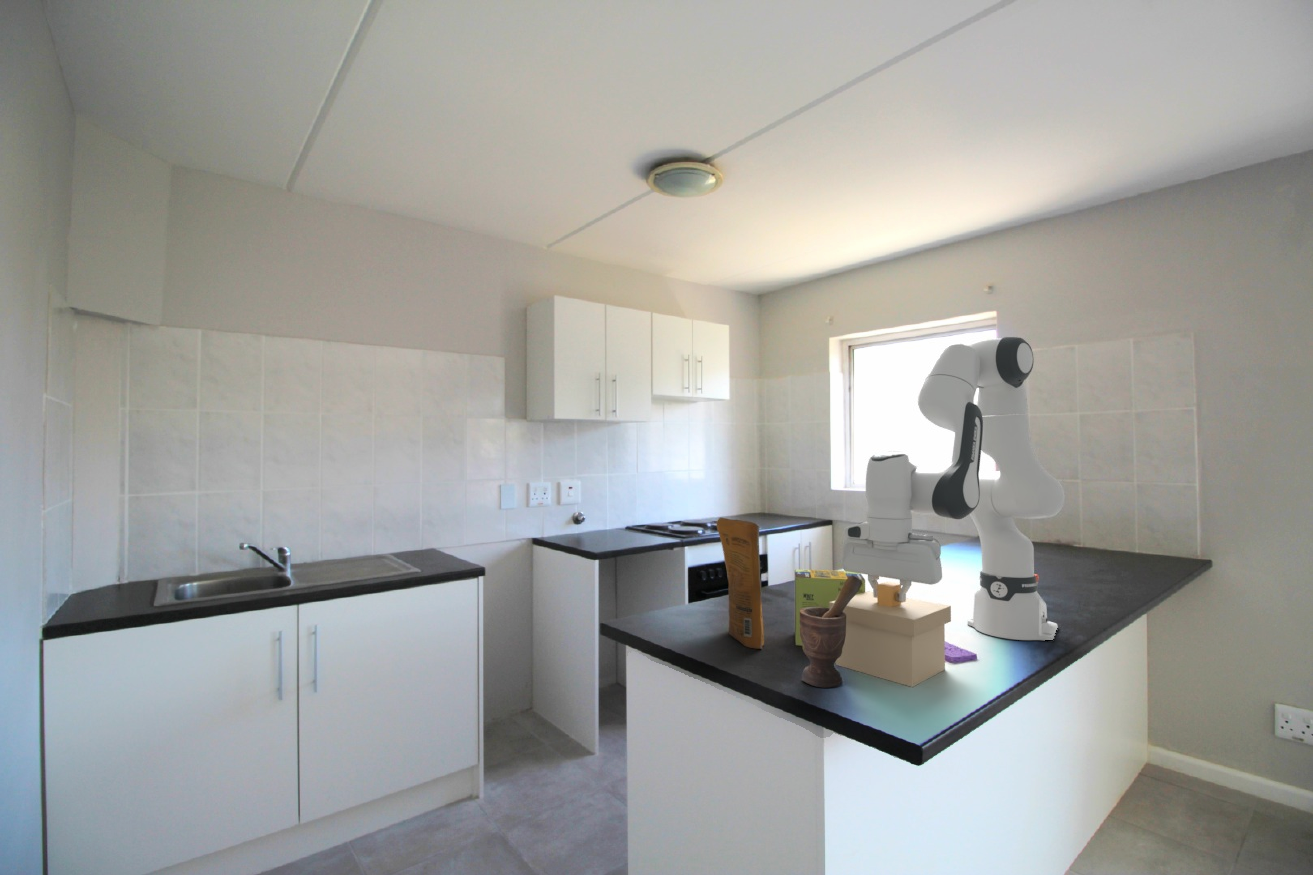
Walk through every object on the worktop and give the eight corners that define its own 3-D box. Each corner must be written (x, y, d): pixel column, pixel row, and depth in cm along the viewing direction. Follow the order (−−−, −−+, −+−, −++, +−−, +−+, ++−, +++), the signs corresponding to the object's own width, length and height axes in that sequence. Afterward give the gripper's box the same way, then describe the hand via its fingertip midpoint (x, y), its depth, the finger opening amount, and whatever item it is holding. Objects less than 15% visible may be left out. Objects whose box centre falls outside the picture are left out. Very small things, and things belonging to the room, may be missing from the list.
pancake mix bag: (745, 653, 132) (745, 523, 133) (714, 629, 151) (714, 515, 152) (774, 650, 134) (773, 522, 135) (739, 627, 153) (739, 514, 153)
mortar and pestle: (837, 668, 123) (836, 568, 124) (869, 683, 115) (868, 576, 116) (790, 677, 118) (790, 573, 119) (820, 693, 110) (820, 581, 111)
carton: (871, 650, 135) (870, 595, 135) (944, 669, 123) (944, 609, 123) (835, 664, 125) (835, 605, 126) (912, 686, 113) (911, 621, 114)
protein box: (866, 650, 135) (866, 579, 135) (795, 645, 138) (794, 576, 138) (860, 636, 145) (860, 570, 145) (794, 632, 148) (793, 568, 149)
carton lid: (869, 605, 136) (868, 572, 136) (950, 621, 123) (950, 585, 123) (829, 617, 126) (829, 582, 126) (914, 636, 112) (913, 597, 113)
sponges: (933, 644, 141) (933, 636, 141) (978, 662, 129) (978, 653, 129) (908, 647, 138) (908, 639, 139) (951, 665, 127) (951, 656, 127)
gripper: (947, 535, 119) (948, 606, 119) (852, 525, 134) (852, 589, 134) (933, 537, 115) (933, 612, 115) (836, 528, 130) (837, 593, 130)
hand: (889, 599), depth 124 cm, fingers open, 3 cm apart
